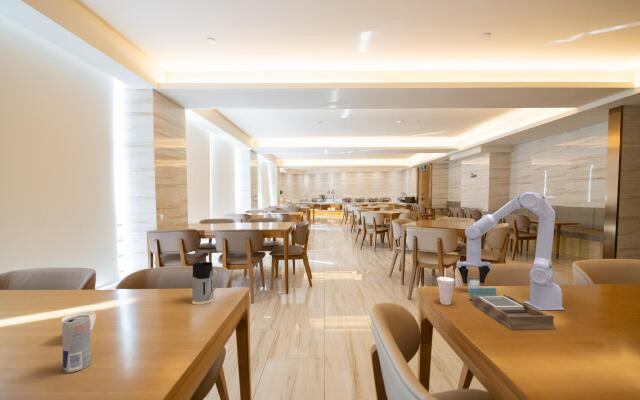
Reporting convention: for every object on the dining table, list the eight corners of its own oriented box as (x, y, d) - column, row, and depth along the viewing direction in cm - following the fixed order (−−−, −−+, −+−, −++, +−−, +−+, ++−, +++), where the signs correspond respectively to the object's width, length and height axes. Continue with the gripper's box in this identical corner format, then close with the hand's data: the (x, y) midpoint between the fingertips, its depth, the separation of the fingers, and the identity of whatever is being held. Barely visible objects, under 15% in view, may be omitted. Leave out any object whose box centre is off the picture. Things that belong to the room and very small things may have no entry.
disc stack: (475, 289, 130) (475, 276, 130) (481, 293, 125) (481, 279, 125) (465, 289, 129) (465, 276, 129) (471, 293, 125) (471, 279, 125)
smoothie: (451, 300, 116) (451, 266, 116) (457, 306, 110) (457, 270, 110) (434, 300, 117) (434, 265, 117) (439, 306, 111) (439, 269, 110)
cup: (54, 345, 82) (53, 321, 82) (82, 329, 92) (82, 308, 92) (81, 345, 82) (81, 321, 82) (107, 328, 92) (106, 308, 92)
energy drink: (74, 361, 74) (73, 315, 74) (96, 360, 75) (95, 314, 74) (56, 374, 69) (56, 324, 69) (80, 372, 69) (80, 323, 69)
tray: (468, 296, 118) (468, 287, 118) (494, 295, 118) (494, 287, 118) (495, 313, 101) (495, 303, 101) (525, 312, 101) (525, 302, 101)
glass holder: (206, 295, 123) (206, 260, 123) (227, 302, 115) (226, 265, 115) (186, 301, 116) (186, 264, 116) (207, 309, 108) (206, 269, 107)
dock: (471, 303, 113) (471, 293, 113) (507, 303, 113) (507, 292, 113) (510, 329, 91) (510, 317, 91) (554, 328, 91) (555, 316, 91)
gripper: (484, 250, 131) (483, 280, 132) (453, 250, 131) (452, 280, 131) (494, 253, 124) (493, 285, 124) (461, 254, 124) (461, 285, 124)
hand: (473, 283), depth 127 cm, fingers open, 7 cm apart
